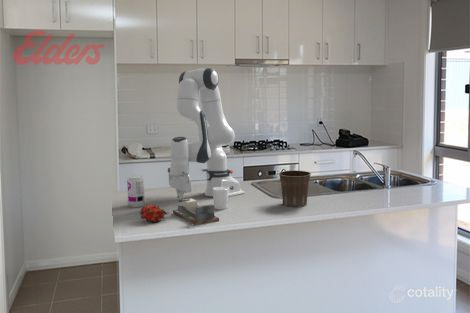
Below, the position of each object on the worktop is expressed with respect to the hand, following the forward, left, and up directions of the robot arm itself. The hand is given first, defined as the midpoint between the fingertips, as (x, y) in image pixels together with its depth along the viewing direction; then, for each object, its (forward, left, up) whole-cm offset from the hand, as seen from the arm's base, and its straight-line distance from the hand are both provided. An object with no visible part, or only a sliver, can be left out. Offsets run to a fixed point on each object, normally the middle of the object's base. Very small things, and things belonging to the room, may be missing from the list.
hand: (180, 198), depth 230 cm
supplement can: (+15, -21, -6) cm, 27 cm away
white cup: (-19, +7, -6) cm, 21 cm away
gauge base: (-1, +15, -6) cm, 16 cm away
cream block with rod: (+1, +9, -4) cm, 10 cm away
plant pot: (-54, +21, -6) cm, 58 cm away
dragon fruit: (+18, +11, -6) cm, 22 cm away
